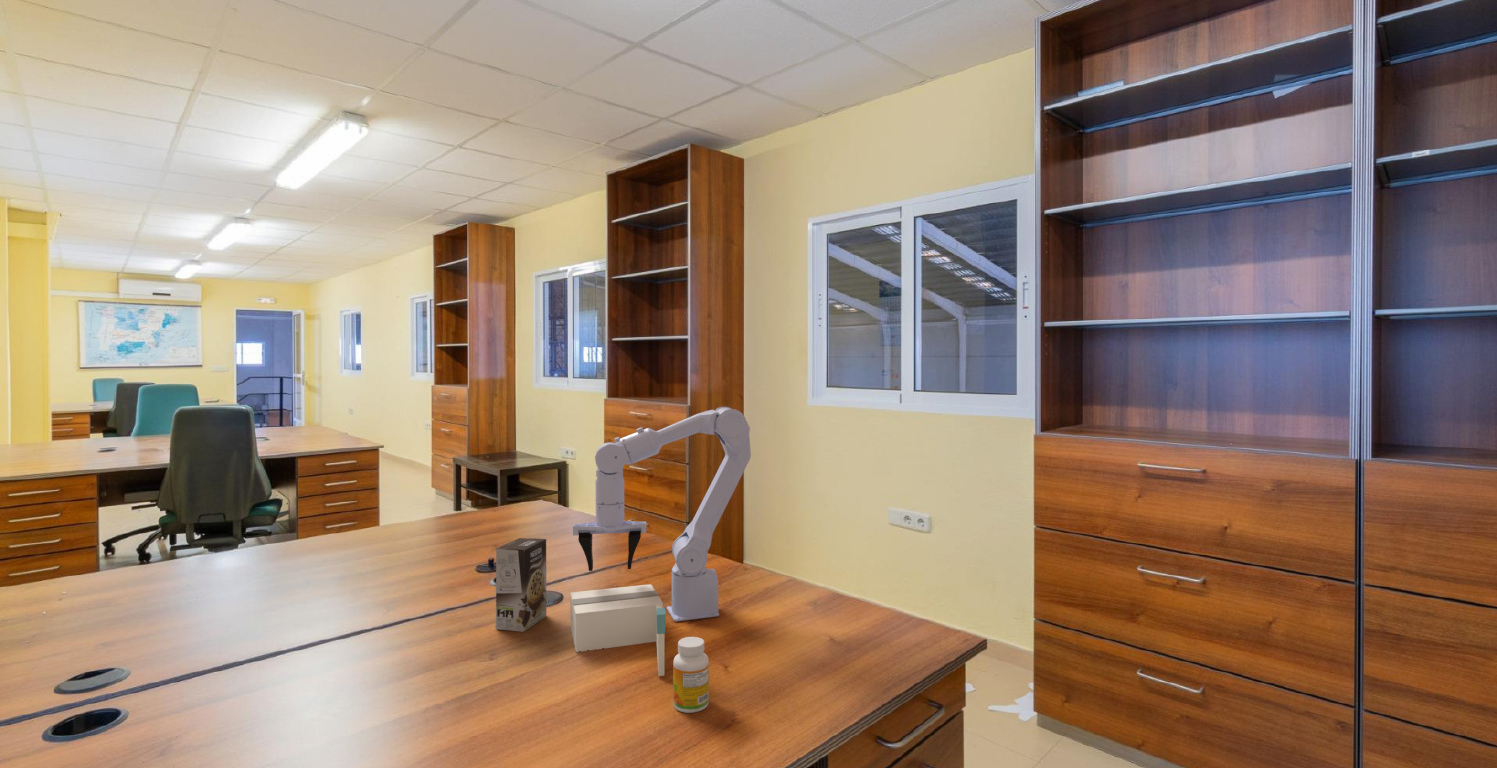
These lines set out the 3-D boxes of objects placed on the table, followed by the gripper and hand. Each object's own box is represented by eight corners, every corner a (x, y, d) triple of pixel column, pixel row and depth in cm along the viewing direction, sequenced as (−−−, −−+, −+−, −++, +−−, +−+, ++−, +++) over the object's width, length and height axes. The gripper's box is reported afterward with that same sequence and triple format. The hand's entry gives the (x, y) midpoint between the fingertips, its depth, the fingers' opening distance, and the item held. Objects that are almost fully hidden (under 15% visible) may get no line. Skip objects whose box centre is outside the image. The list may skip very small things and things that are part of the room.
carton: (651, 618, 137) (651, 583, 137) (663, 640, 126) (663, 602, 126) (570, 627, 132) (570, 591, 132) (575, 652, 121) (575, 613, 121)
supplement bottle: (673, 696, 105) (673, 635, 104) (708, 695, 105) (708, 634, 105) (672, 714, 99) (672, 649, 99) (709, 713, 100) (709, 648, 100)
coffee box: (524, 632, 130) (524, 549, 129) (494, 630, 131) (494, 548, 131) (548, 615, 139) (547, 538, 138) (519, 613, 140) (519, 536, 140)
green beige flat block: (655, 642, 125) (655, 587, 124) (662, 641, 125) (662, 587, 125) (657, 676, 111) (657, 615, 111) (665, 675, 111) (665, 614, 111)
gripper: (571, 507, 131) (571, 576, 131) (646, 505, 133) (646, 573, 134) (574, 500, 138) (575, 565, 138) (646, 498, 140) (646, 562, 141)
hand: (610, 568), depth 136 cm, fingers open, 7 cm apart
